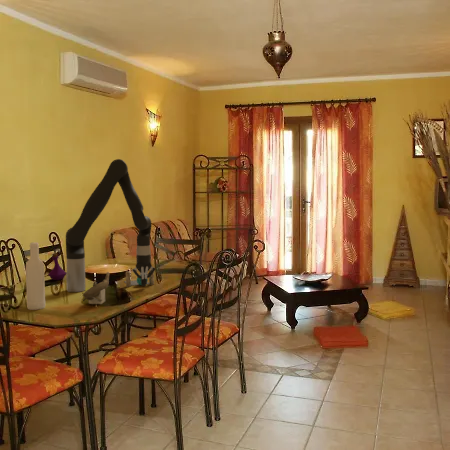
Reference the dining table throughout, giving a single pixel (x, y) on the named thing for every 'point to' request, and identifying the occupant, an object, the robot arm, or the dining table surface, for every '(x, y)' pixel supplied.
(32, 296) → the bottle
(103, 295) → the wood carving
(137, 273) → the robot arm
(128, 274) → the left post
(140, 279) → the ball
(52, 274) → the perfume bottle
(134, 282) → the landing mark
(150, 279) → the right post
